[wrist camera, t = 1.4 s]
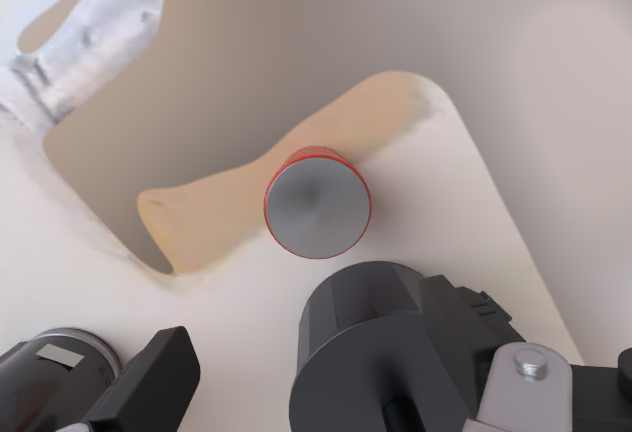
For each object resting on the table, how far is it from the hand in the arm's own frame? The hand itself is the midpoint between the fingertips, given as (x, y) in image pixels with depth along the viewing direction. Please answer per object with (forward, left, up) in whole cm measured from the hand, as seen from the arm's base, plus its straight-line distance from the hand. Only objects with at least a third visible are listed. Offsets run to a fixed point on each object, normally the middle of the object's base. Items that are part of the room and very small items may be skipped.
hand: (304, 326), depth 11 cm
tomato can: (+1, +2, -17) cm, 18 cm away
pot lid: (+7, -12, -8) cm, 16 cm away
